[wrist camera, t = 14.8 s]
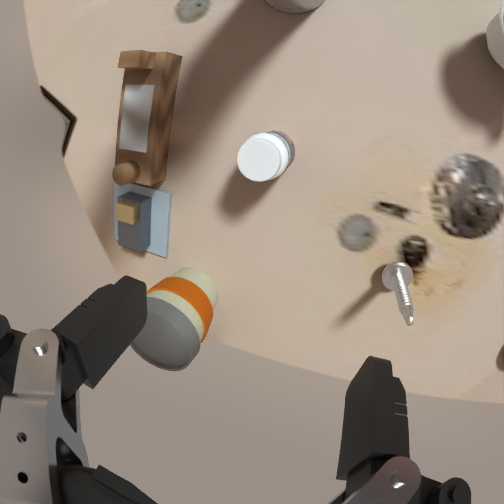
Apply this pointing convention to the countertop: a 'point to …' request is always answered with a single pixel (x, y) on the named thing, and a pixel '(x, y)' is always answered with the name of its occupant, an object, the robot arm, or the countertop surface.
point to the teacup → (496, 37)
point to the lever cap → (134, 220)
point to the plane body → (145, 116)
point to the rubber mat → (158, 215)
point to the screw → (400, 287)
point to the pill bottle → (265, 155)
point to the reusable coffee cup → (176, 319)
